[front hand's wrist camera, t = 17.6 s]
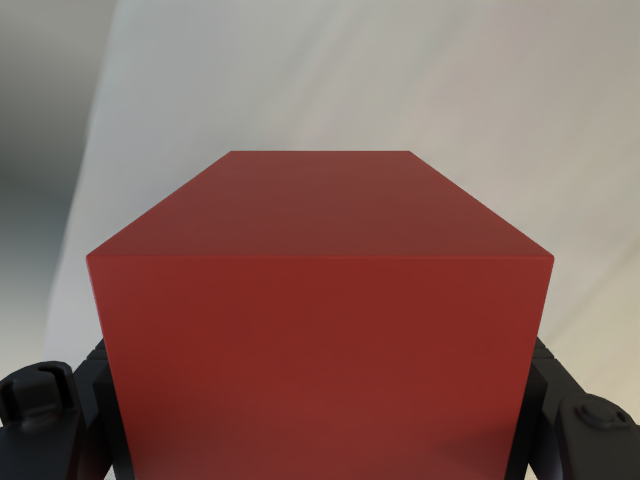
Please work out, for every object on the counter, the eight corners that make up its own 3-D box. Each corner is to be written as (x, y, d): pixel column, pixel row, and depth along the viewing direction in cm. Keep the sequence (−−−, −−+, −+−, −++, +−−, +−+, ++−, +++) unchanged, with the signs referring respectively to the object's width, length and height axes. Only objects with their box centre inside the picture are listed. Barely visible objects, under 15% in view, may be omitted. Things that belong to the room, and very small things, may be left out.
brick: (230, 150, 17) (82, 255, 6) (410, 150, 17) (557, 255, 6) (244, 330, 20) (161, 598, 9) (396, 330, 20) (478, 598, 9)
